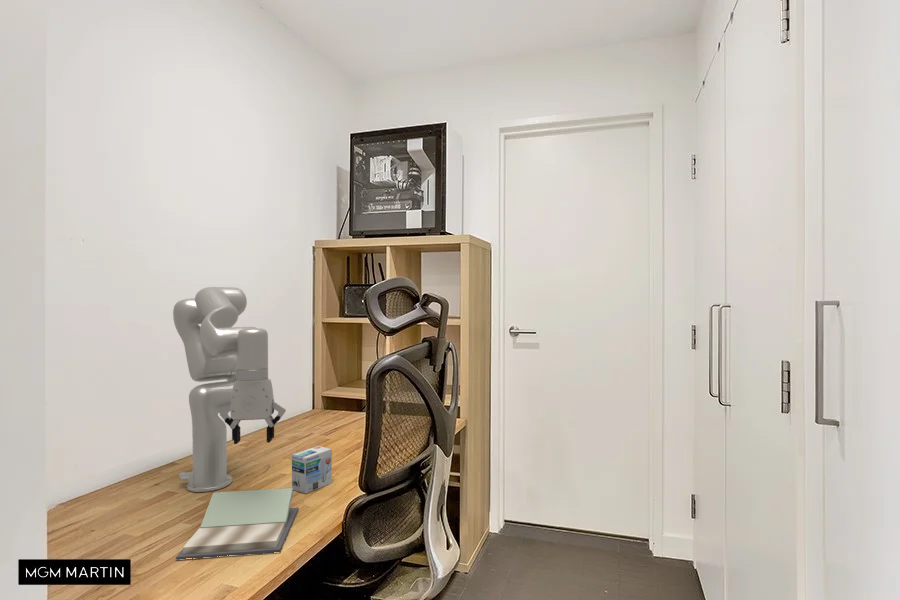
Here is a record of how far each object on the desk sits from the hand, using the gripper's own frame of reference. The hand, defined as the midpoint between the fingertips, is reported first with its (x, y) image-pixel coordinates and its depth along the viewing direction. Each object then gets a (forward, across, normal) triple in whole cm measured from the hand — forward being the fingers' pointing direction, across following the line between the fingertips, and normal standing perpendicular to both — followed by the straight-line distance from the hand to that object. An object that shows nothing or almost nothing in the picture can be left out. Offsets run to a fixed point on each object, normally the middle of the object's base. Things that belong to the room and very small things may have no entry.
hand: (253, 441), depth 124 cm
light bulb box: (+20, +12, +20) cm, 31 cm away
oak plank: (+19, 0, -14) cm, 24 cm away
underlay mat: (+20, 0, -8) cm, 22 cm away
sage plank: (+17, 0, -4) cm, 17 cm away
